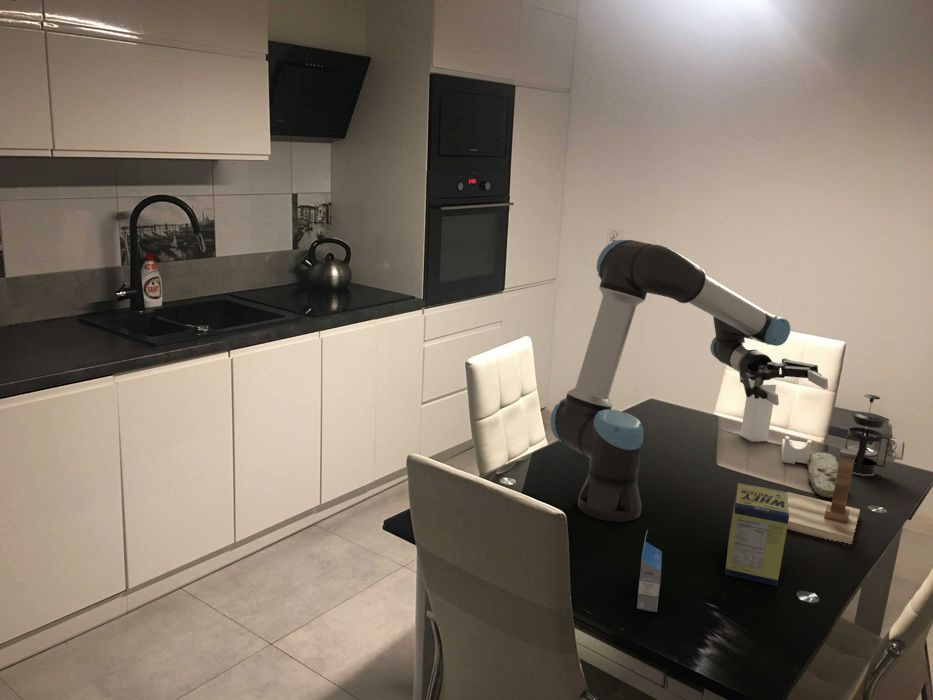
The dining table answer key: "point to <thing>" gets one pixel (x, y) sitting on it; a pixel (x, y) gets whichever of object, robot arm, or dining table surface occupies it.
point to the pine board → (819, 519)
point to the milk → (757, 415)
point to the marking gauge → (841, 488)
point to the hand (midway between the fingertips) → (802, 392)
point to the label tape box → (649, 578)
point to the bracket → (795, 451)
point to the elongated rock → (823, 473)
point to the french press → (866, 439)
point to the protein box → (757, 533)
